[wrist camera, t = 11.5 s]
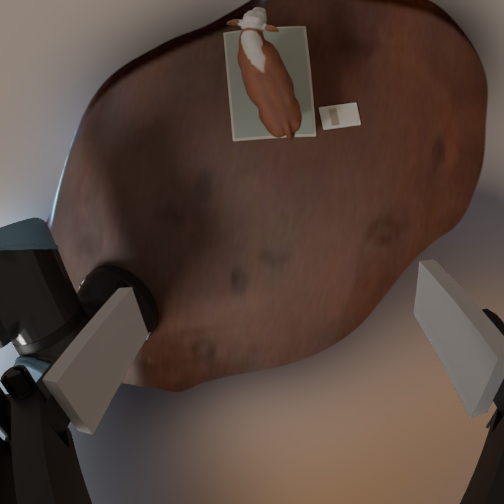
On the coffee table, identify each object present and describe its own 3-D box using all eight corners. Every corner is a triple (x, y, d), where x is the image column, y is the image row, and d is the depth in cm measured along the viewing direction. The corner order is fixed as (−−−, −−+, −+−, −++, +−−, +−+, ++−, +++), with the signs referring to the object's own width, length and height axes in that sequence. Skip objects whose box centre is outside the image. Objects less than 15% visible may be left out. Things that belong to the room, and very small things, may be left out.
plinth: (240, 139, 38) (232, 141, 32) (232, 45, 33) (222, 31, 27) (311, 135, 37) (316, 136, 31) (302, 40, 32) (305, 25, 26)
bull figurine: (272, 23, 26) (268, -6, 19) (304, 135, 31) (310, 136, 23) (233, 32, 27) (217, 7, 20) (264, 144, 32) (257, 148, 24)
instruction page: (323, 130, 36) (323, 130, 36) (318, 107, 35) (318, 107, 35) (360, 124, 35) (361, 124, 35) (356, 102, 34) (356, 102, 34)
